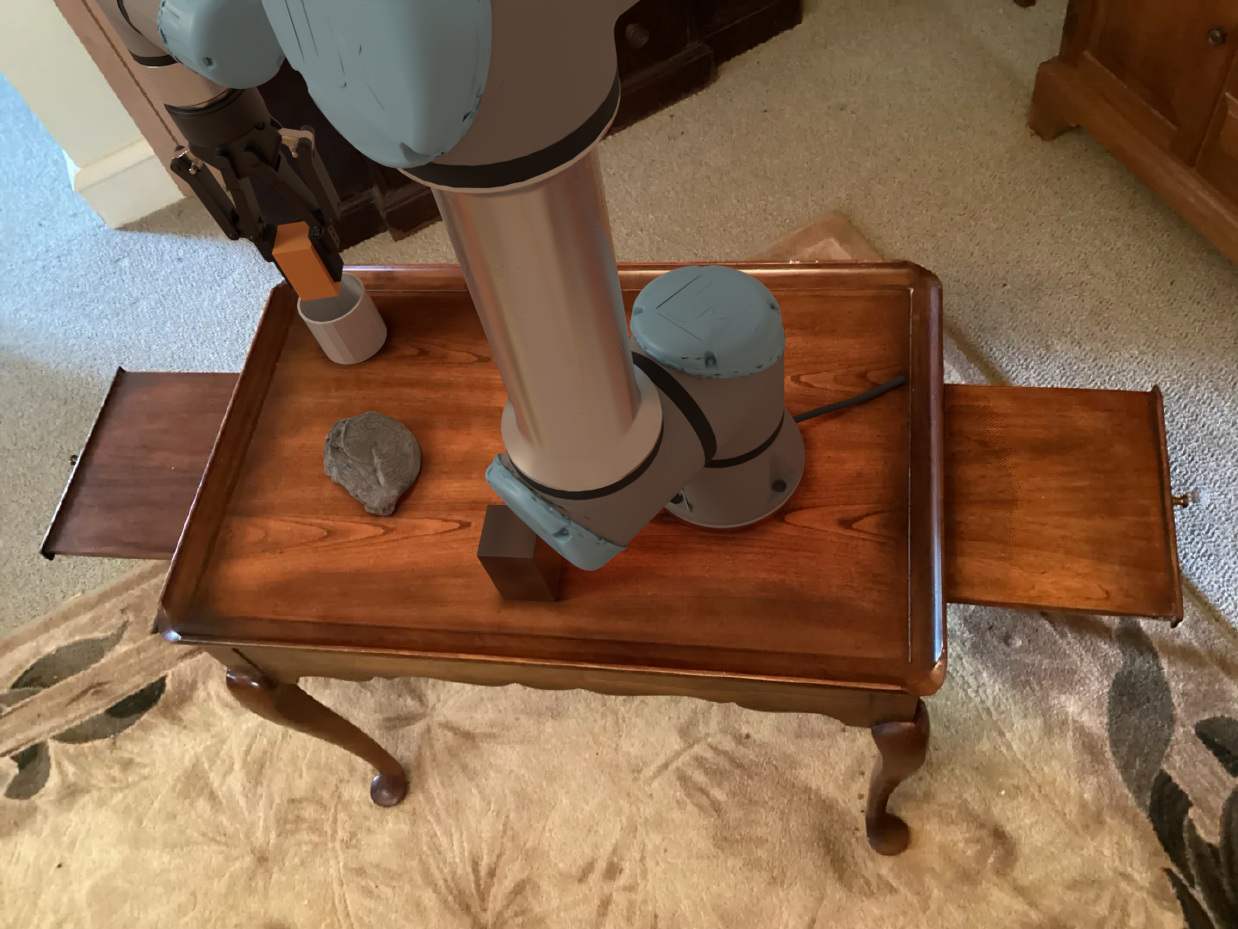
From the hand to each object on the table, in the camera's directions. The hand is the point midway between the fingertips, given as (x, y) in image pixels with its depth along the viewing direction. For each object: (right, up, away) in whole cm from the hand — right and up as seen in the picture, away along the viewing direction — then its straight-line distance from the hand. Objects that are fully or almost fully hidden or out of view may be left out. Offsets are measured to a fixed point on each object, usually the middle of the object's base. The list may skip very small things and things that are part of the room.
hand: (317, 275), depth 100 cm
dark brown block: (+24, -30, -11) cm, 40 cm away
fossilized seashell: (+6, -20, -1) cm, 21 cm away
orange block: (0, -1, +1) cm, 1 cm away
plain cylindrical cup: (+2, -5, +9) cm, 10 cm away
